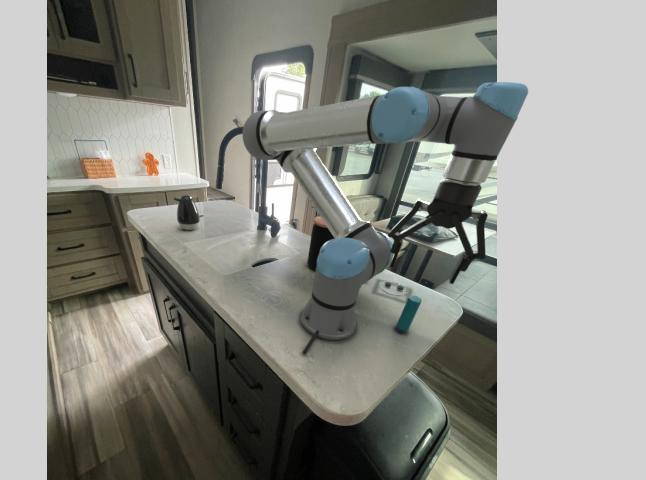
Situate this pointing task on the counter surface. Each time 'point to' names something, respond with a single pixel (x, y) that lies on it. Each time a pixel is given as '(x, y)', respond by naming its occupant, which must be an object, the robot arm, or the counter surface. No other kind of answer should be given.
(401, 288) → the eye dot
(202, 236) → the counter surface
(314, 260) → the coffee jar
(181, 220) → the pump dispenser
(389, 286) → the eye dot
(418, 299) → the dot marker
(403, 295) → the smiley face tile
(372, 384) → the counter surface
